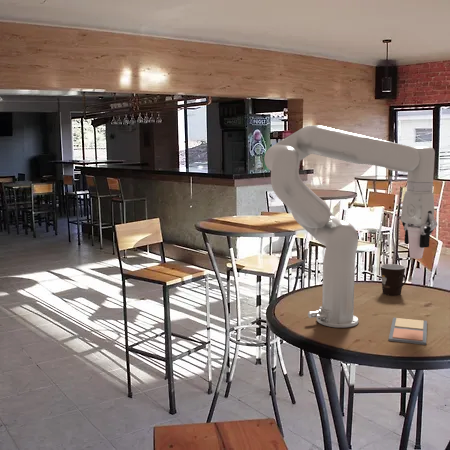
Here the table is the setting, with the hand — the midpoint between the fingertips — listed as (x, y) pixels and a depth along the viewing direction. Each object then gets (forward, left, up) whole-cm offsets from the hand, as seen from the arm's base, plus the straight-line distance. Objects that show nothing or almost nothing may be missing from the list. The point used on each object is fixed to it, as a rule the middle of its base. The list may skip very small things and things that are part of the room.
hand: (416, 244), depth 179 cm
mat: (-10, -10, -23) cm, 27 cm away
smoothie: (0, 0, -4) cm, 4 cm away
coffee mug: (+11, +24, -24) cm, 35 cm away
